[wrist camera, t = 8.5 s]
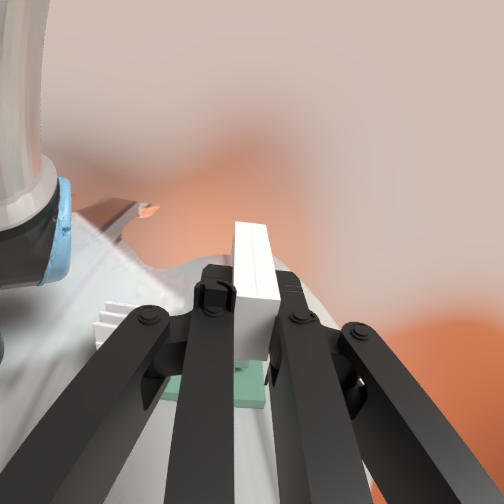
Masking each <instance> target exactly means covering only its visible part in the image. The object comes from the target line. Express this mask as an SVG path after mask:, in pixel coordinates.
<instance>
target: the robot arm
mask: <svg viewBox="0 0 504 504" xmlns="http://www.w3.org/2000/svg"><path fill="white" fill-rule="evenodd" d="M49 3H50V0H0V290H2V289H11V288H19V287H28V286H41V285H43V284H45V283H50V282H55V281H59V280H62V279H63V278H64V277H65V276H66V275H67V273H68V271H69V267H70V258H71V232H70V230H71V186H70V182H69V181H68V179H66V178H61V177H57V173H56V169H55V166H54V164H53V163H52V161H51V160H50V159H49V158H48V157H46V156H45V155H43V154H41V138H40V88H41V87H40V86H41V67H42V55H43V45H44V36H45V28H46V21H47V14H48V8H49ZM3 354H4V343H3V339H2V337H1V334H0V363H1V361H2V358H3ZM268 354H270V363H269V367H268V371H267V375H266V378H265V383H264V385H267V384H268V381H269V391H270V401H271V411H272V422H273V432H274V443H275V453H276V464H277V475H278V485H279V496H280V504H373V500H372V497H371V492H370V489H369V485H368V481H367V477H366V473H365V470H364V466H363V462H364V464H365V465H366V467H367V469H368V471H369V472H370V474H371V476H372V478H373V479H374V481H375V483H376V484H377V486H378V488H379V490H380V491H381V493H382V495H383V497H384V498H385V500H386V502H387V504H504V496H503V495H502V493H501V492H500V490H499V489H498V488H497V486H496V485H495V483H494V482H493V480H492V479H491V478H490V476H489V475H488V474H487V472H486V471H485V470H484V468H483V467H482V465H481V464H480V463H479V461H478V460H477V459H476V457H475V456H474V454H473V453H472V452H471V450H470V449H469V448H468V446H467V445H466V444H465V442H464V441H463V440H462V438H461V437H460V436H459V435H458V433H457V432H456V431H455V429H454V428H453V427H452V426H451V424H450V423H449V421H448V420H447V419H446V418H445V416H444V415H443V414H442V413H441V411H440V410H439V409H438V407H437V406H436V405H435V404H434V402H433V401H432V400H431V398H430V397H429V396H428V395H427V394H426V392H425V391H424V390H423V388H422V387H421V386H420V385H419V384H418V382H417V381H416V380H415V379H414V377H413V376H412V375H411V374H410V372H409V371H408V370H407V369H406V368H405V366H404V365H403V364H402V363H401V361H400V360H399V359H398V358H397V356H396V355H395V354H394V353H393V352H392V350H391V349H390V348H389V347H388V346H387V344H386V343H385V342H384V341H383V340H382V338H381V337H380V336H379V335H378V334H377V333H376V331H375V330H373V329H372V328H371V327H370V326H368V325H366V324H364V323H359V322H349V323H346V324H345V325H344V326H343V327H342V329H341V331H340V330H336V329H332V328H329V327H326V326H323V325H321V323H320V320H319V318H318V317H317V315H316V314H315V313H313V312H312V311H310V310H309V309H308V306H307V302H306V299H305V296H304V293H303V289H302V287H301V283H300V280H299V278H298V277H297V276H296V275H295V274H294V273H293V272H289V271H279V270H275V268H274V263H273V258H272V253H271V249H270V244H269V239H268V234H267V230H266V225H262V224H253V223H245V222H235V230H234V238H233V246H232V254H231V262H230V266H223V265H214V264H208V265H207V266H206V267H205V268H204V269H203V271H202V276H201V281H200V282H198V283H197V284H196V286H195V287H194V306H193V310H192V311H190V312H188V313H186V314H183V315H178V316H169V313H168V312H167V311H166V310H165V309H163V308H161V307H159V306H154V305H143V306H140V307H137V308H135V309H134V310H132V311H131V312H130V313H129V314H128V315H127V316H126V318H125V319H124V320H123V321H122V322H121V323H120V324H119V326H118V327H117V328H116V329H115V330H114V331H113V333H112V334H111V335H110V336H109V337H108V338H107V340H106V341H105V342H104V343H103V344H102V345H101V347H100V348H99V349H98V350H97V351H96V352H95V354H94V355H93V356H92V357H91V358H90V360H89V361H88V362H87V363H86V364H85V366H84V367H83V368H82V369H81V370H80V372H79V373H78V374H77V375H76V376H75V378H74V379H73V380H72V381H71V382H70V384H69V385H68V386H67V387H66V389H65V390H64V391H63V392H62V394H61V395H60V396H59V397H58V399H57V400H56V401H55V402H54V404H53V405H52V406H51V407H50V409H49V410H48V411H47V412H46V414H45V415H44V416H43V417H42V419H41V420H40V421H39V423H38V424H37V425H36V426H35V428H34V429H33V430H32V432H31V433H30V434H29V436H28V437H27V438H26V440H25V441H24V442H23V444H22V445H21V446H20V448H19V449H18V450H17V452H16V453H15V454H14V456H13V457H12V458H11V460H10V461H9V462H8V464H7V465H6V467H5V468H4V469H3V471H2V472H1V473H0V504H103V502H104V500H105V498H106V497H107V495H108V493H109V491H110V489H111V487H112V485H113V484H114V482H115V480H116V478H117V476H118V474H119V473H120V471H121V469H122V467H123V465H124V463H125V461H126V460H127V458H128V456H129V454H130V452H131V450H132V449H133V447H134V445H135V443H136V441H137V439H138V438H139V436H140V434H141V432H142V430H143V429H144V427H145V425H146V423H147V421H148V419H149V418H150V416H151V414H152V412H153V410H154V408H155V407H156V405H157V403H158V401H159V399H160V398H161V396H162V394H163V392H164V390H165V389H166V387H167V385H168V383H169V381H170V379H171V376H176V375H182V376H181V382H180V388H179V394H178V401H177V407H176V414H175V420H174V427H173V434H172V441H171V449H170V456H169V464H168V472H167V480H166V488H165V497H164V504H235V503H234V359H244V360H258V361H267V358H268ZM360 378H361V379H362V381H363V382H364V385H363V384H362V383H361V381H360V380H359V379H360ZM361 458H362V459H361ZM362 460H363V462H362Z"/></svg>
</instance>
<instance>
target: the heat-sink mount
mask: <svg viewBox="0 0 504 504" xmlns="http://www.w3.org/2000/svg"><path fill="white" fill-rule="evenodd" d="M105 307H106V312H105V311H100V313H99V316H100V322H101V323H100V322H94V323H93V328H94V333H95V338H96V348H97V350H98V349H99V348H100V347H101V345H102V344H103V343H104V342H105V341H106V340H107V338H108V337H109V336H110V335H111V334H112V333H113V331H114V330H115V329H116V328H117V327H118V326H119V324H120V323H121V322H122V321H123V320H124V319H125V318H126V316H127V315H128V314H129V313H130V312H131V311H132V310H134V309H135V308H137V307H140V306H139V305H132V304H125V303H118V302H111V301H106V302H105ZM181 376H182V375H176V376H171V379H170V381H169V383H168V385H167V387H166V389H165V390H164V392H163V394H162V396H161V398H160V399H163V400H171V401H178V394H179V388H180V382H181ZM265 401H266V400H265V388H264V377H263V365H262V361H258V360H249V366H248V368H235V373H234V407H243V408H264V405H265Z"/></svg>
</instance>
